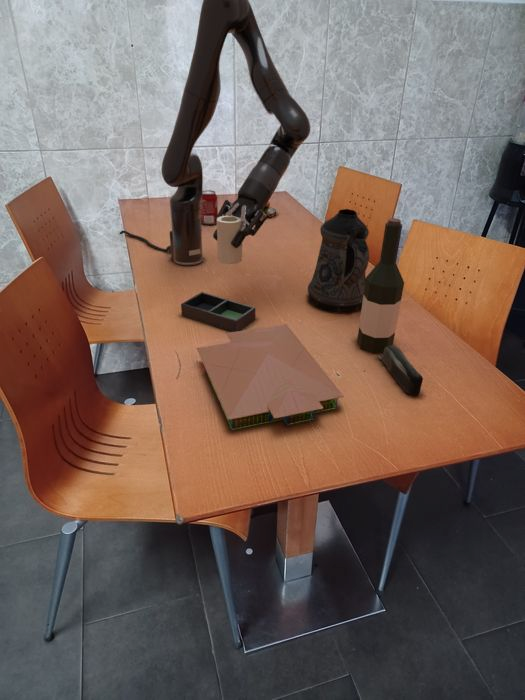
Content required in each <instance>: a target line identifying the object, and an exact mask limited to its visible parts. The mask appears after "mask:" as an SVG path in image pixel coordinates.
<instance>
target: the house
mask: <svg viewBox="0 0 525 700" xmlns="http://www.w3.org/2000/svg"><path fill="white" fill-rule="evenodd" d="M226 335H227V336H228V338H229V340H230V342H225V343H219V344H213V345H206V346H200V347H196V351H197V353H198V355H199V357H200V359H201V362H202V364H203V367H204V369H205V371H206V373H207V377H208V380H209V381H210V384H211V387H212V389H213V391H214V393H215V396H216V397H217V400H218V402H219V404H220V407H221V409H222V412H223V415H224V416H225V418H226V420H227V422H228V425H229V428H230V429H231V430H232V431H234V430H238V429H242V428H247V427H252V426H257V425H262V424H267V423H272V422H276V421H277V422H278V421H282V420H283V421H284V422H285V424H286V425H287V426H288V425H293V424H298V423H302V422H307V421H311V420H315V414H316V413H320V412H324V411H329V410H335V409H337V407H338V399H340V398H344V397H345V396H344V394H343V393H342V392H341V391H340V389H339V388H338V387H337V386H336V384H335V383H334V382H333V381H332V380H331V378H330V377H329V376H328V374H327V373H326V372H325V370H323V368H322V367H321V366H320V365H319V363H318V361H316V359H315V358H314V357H313V355H311V353H310V352H309V351H308V349H307V348H306V347H305V346H304V344H303V343H302V342H301V340H299V339H300V338H298V337H297V335H296V334H295V333H294V331H292V329H291V328H290V327H289V326H288V324H287V323H284V324H278V325H270V326H264V327H256V328H250V329H244V330H243V329H242V330H240V331H237V332H231V331H229V332H226ZM328 401H329V402H328ZM321 402H322V403H321ZM327 404H329V407H328V409H327V407H325V408H324V405H327ZM331 404H332V408H331ZM267 413H268V414H267ZM263 414H265V415H263ZM306 414H307V415H308V414H309V416H307V417H306V419H305V417H303V420H301V419H299V420H298V421H297V420H295V422H293V421H291V422H290V423H289V418H294V416H295V417H297V416H304V415H306ZM246 417H248V418H246ZM263 417H265V419H264V420H265V422H263ZM309 417H310V418H309ZM242 418H244V419H242ZM259 418H260V420H261V422H260V423H259ZM238 419H240V420H238ZM251 419H252V424H249V425H244V426H239V427H238V422H242V421H247V420H248V421H249V420H251ZM255 419H256V423H255V424H254V420H255ZM269 419H270V421H269ZM233 420H235V421H233ZM234 423H235V426H236V427H235V428H233V425H234Z"/></svg>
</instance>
